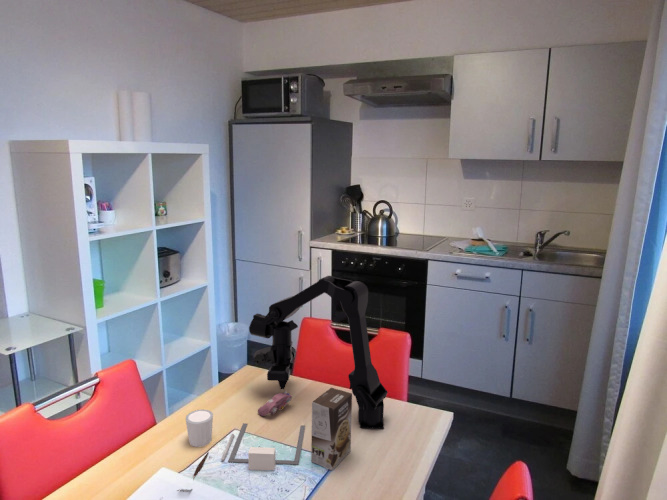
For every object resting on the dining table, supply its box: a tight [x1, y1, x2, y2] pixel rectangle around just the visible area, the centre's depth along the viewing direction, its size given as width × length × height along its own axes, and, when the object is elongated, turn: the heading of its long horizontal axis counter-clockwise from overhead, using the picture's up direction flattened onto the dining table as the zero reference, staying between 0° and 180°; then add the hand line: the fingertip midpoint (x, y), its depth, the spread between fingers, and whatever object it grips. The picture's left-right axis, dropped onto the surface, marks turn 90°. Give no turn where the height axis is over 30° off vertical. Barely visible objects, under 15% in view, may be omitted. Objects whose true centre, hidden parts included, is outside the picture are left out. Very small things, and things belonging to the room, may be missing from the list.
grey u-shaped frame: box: [220, 422, 306, 471], centre depth 122 cm, size 19×19×4 cm
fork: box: [176, 452, 210, 493], centre depth 111 cm, size 3×16×2 cm, turn 174°
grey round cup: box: [185, 409, 214, 448], centre depth 123 cm, size 7×7×7 cm
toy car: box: [257, 390, 293, 417], centre depth 138 cm, size 10×5×7 cm, turn 143°
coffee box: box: [310, 387, 353, 471], centre depth 117 cm, size 9×6×16 cm
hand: (282, 388), depth 147 cm, fingers closed
